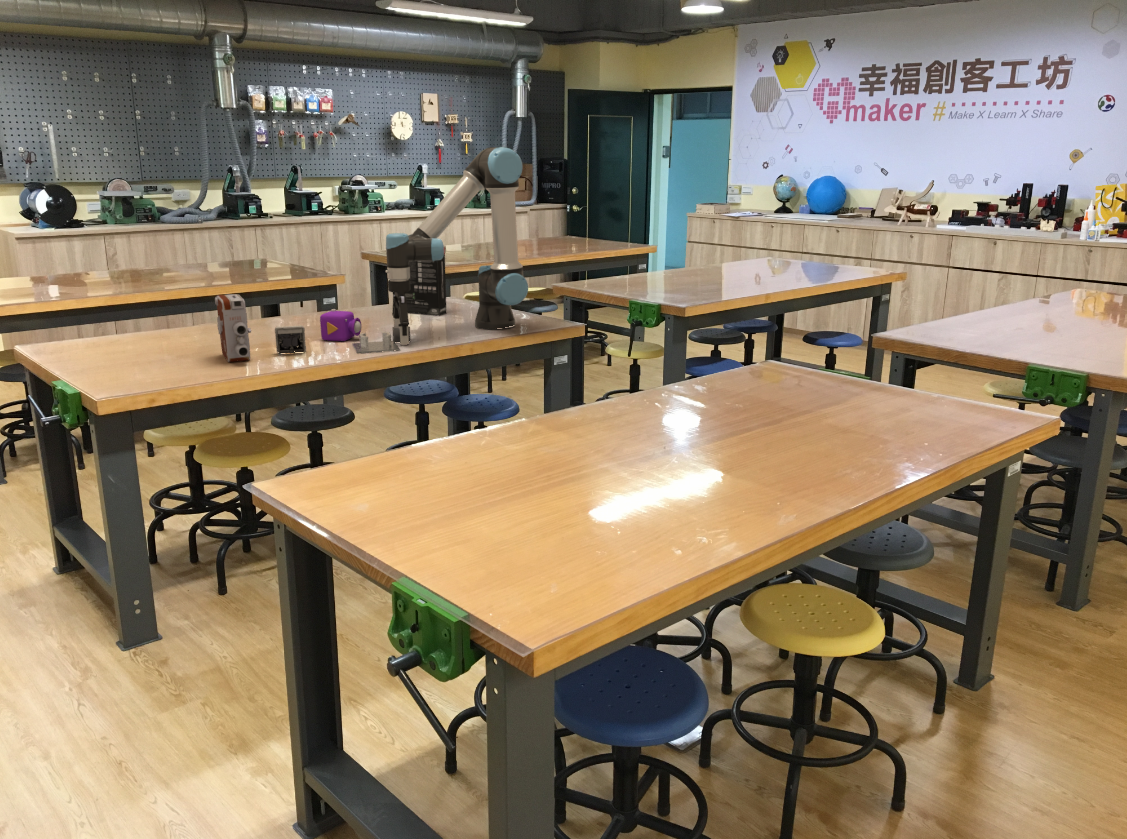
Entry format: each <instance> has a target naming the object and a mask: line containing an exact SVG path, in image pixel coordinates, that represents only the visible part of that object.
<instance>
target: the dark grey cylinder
mask: <svg viewBox="0 0 1127 839" xmlns="http://www.w3.org/2000/svg"><path fill="white" fill-rule="evenodd" d="M391 329H392V341H394V342H400V327H399V326H395V327H394V326H392V328H391ZM408 336H409V341H410V340H411V327H410V325H408ZM410 342H411V341H410Z"/></svg>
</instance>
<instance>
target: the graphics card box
mask: <svg viewBox="0 0 1127 839" xmlns="http://www.w3.org/2000/svg"><path fill="white" fill-rule="evenodd" d="M445 249H446V248H445V246H444V256H443V258H442V259H441V260H435V261H410V262H409V267H410V278H409V279H408V280H409V281H410V291H408V292H404V296H406V297H407V299H406V301H407V311H408V314H409V313H410V314H418V313H421V315H427V314H431V315H430V316H437V315H439V316H442V315H445V314H447V285H446V283H447V282H446V251H445Z"/></svg>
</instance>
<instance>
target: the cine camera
mask: <svg viewBox="0 0 1127 839" xmlns="http://www.w3.org/2000/svg"><path fill="white" fill-rule="evenodd" d="M214 303H215V305H216V310H217V318H216V320H217V323H216V324H217V332H218V335H219V337H220V347H221V352H222V356H223V357H224V358H225V359H226V361H227V362H228V363H234V362H235V363H236V362H245V361H250V360H251V347H250V346H251V345H250V337H249V333H250V334H251V333H252V329H251V327H248V312H247V307H246V301H245V299H244V298H243V297H242V296H241V295H240V294H236V293H235V294H233V293H232V294H218V295H216V296H215V297H214Z"/></svg>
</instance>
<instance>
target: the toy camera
mask: <svg viewBox="0 0 1127 839" xmlns="http://www.w3.org/2000/svg"><path fill="white" fill-rule="evenodd" d="M354 314H355V313H353V312H352V311H350V310H349V311H348V310H347V311H346V310H337V309H335V308H333V309H331V310H330V311H326V312H324V313H323V314H321V315H320V316H319V323H320V325H319V327H320V335H321V339H322V340H323V341H326V340H327V341H330V342H332V341H333V342H346V341H348V340H350V339H352V338H354V337H355V336H356V337H359V335H360V334H361V332H362V322H361V321H362V320H361V319H360V317H355V315H354ZM327 341H326V342H327Z"/></svg>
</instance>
